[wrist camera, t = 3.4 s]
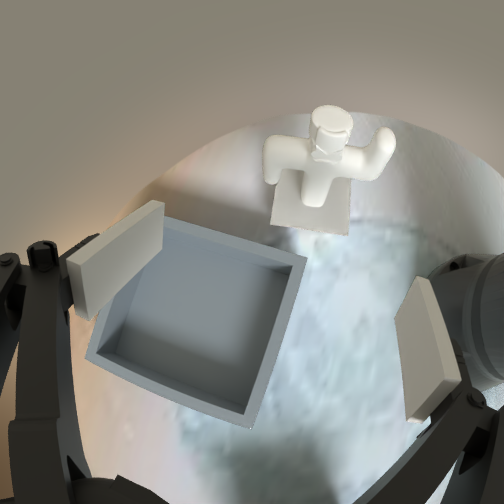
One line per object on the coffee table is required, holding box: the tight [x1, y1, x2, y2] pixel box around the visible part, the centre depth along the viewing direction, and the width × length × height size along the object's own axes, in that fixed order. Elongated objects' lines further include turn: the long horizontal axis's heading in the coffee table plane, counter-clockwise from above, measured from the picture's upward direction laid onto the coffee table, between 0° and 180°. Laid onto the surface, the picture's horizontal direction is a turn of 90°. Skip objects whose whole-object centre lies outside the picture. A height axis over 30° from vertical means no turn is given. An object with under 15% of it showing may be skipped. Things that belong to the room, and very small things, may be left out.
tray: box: [85, 216, 307, 429], centre depth 28 cm, size 16×15×5 cm
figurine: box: [262, 105, 396, 236], centre depth 26 cm, size 7×9×15 cm
